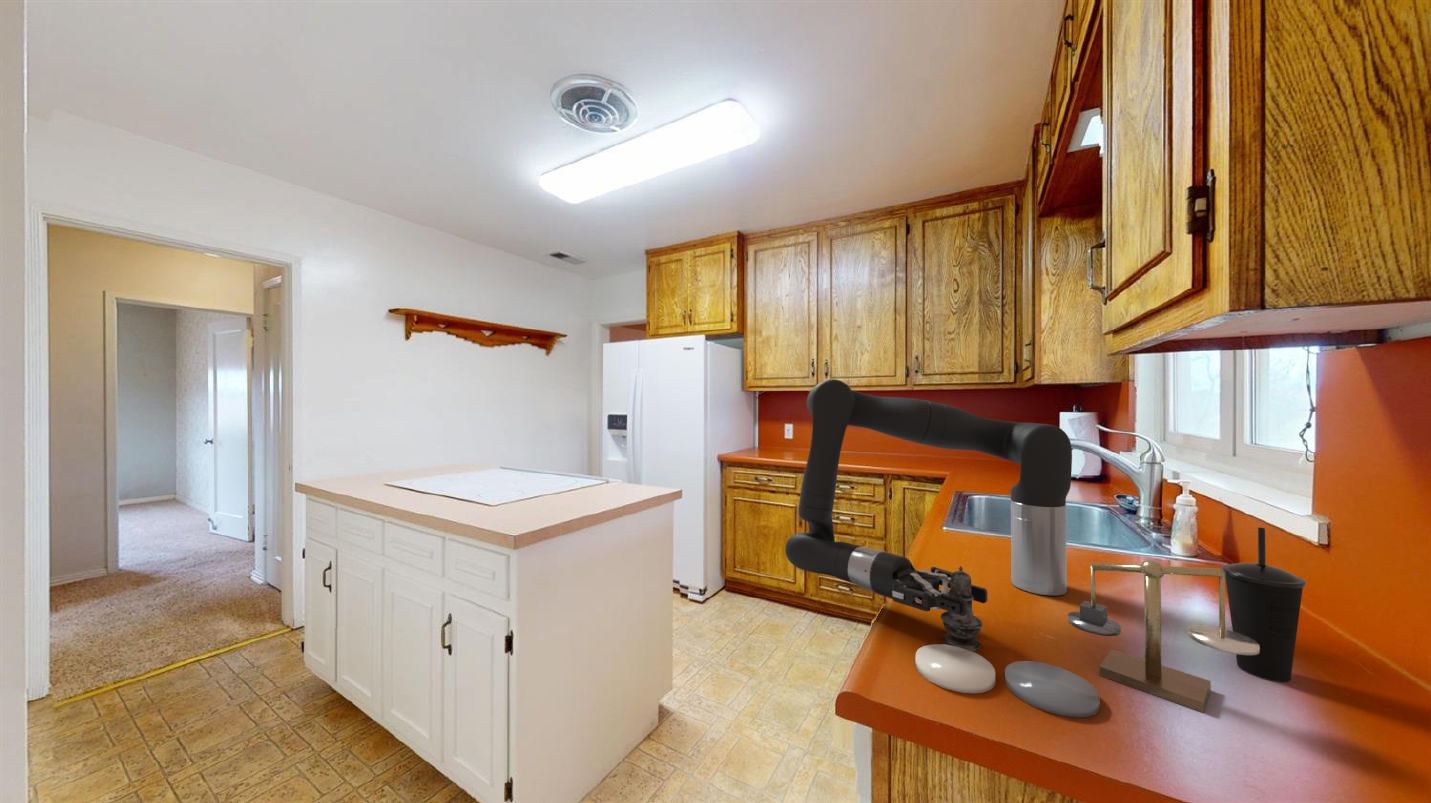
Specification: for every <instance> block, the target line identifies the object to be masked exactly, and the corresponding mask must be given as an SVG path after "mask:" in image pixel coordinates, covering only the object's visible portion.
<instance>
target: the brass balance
mask: <svg viewBox="0 0 1431 803" xmlns="http://www.w3.org/2000/svg"><path fill="white" fill-rule="evenodd" d="M1096 571H1098V572H1099V571H1100V572H1101V571H1102V572H1104V571H1105V572H1121V573H1136V574H1137V573H1140V574H1143V576H1144V578H1143V580H1144V581H1143V585H1144V590H1143V591H1144V596H1143V597H1144V658H1140V657H1137V656H1134V655H1132V654H1128V653H1124V652H1121V651H1118V650H1116V649H1111V650H1110V651H1109V653H1108V654H1107V655H1106V656H1105V658H1104V659H1103V661H1102V662H1101V663H1100V665H1099V666H1098V672H1099V673H1098V675H1099V676H1101V677H1104V678H1106V679H1109V680H1112V681H1115V682H1117V683H1120V684H1124V685H1126V686H1128V687H1132V688H1134V689H1136V690H1140V691H1142V692H1145V693H1148V694H1151V695H1153V696H1156V697H1158V698H1161V699H1164V700H1167V701H1170V702H1173V703H1175V704H1178V705H1181V706H1184V707H1187V708H1189V707H1190V709H1192V710H1195V711H1197V710H1198V712H1200V713H1204V712H1205V709H1206V705H1207V703H1208V699H1209V696H1210V694H1211V690H1212V689H1211V686H1212V685H1211V684H1212V683H1211V680H1210V679H1206V678H1203V677H1200V676H1197V675H1194V674H1190V673H1188V672H1184V671H1181V670H1178V669H1175V668H1172V667H1169V666H1165V665H1162V603H1161V602H1162V601H1161V600H1162V598H1161V597H1162V596H1161V594H1162V591H1161V590H1162V588H1161V579H1162V578H1163V577H1164V575H1176V576H1177V575H1179V576H1191V577H1192V576H1194V577H1195V576H1197V577H1212V578H1213V577H1214V578H1217V577H1218V621H1219V622H1218V626H1219V627H1217V626H1213V625H1207V624H1203V625H1202V624H1192V625H1189V626H1188V627H1187V636H1188V637H1189V638H1190V639H1192V640H1194V641H1195V642H1196V643H1198V644H1200V645H1203V646H1205V647H1208V648H1211V649H1214V650H1217V651H1220V652H1224V653H1228V654H1233V655H1236V654H1238V655H1257V654H1259V653H1260V645H1259V644H1258V643H1257V642H1256V641H1255V640H1253V639H1251V638H1249V637H1247V636H1245V635H1242V634H1239V633H1237V632H1234V631H1233V630H1230V629H1226V580H1225V573H1224V572H1223V571H1222V568H1220V567H1219V568H1216V567H1215V568H1214V567H1197V566H1195V567H1192V566H1191V567H1190V566H1175V565H1173V566H1172V565H1171V566H1170V565H1169V566H1167V565H1162V564H1161V563H1160V562H1158V561H1156V560H1152V559H1146V560H1144V561H1142V562H1141V563H1140V564H1125V563H1123V564H1122V563H1102V562H1101V563H1100V562H1092V563H1091V566H1090V601H1088V600H1083V601H1082V602H1081V603H1080V605H1079V611H1071V612H1069V613H1068V614H1067V622H1068V623H1069V624H1070V625H1071V626H1072V627H1074V628H1076V629H1078V630H1080V631H1083V632H1085V633H1088V634H1093V635H1096V636H1097V635H1098V636H1103V637H1115V636H1116V637H1117V636H1120V635H1121V634H1122V626H1121V625H1120V624H1119V623H1118V622H1117V621H1116V620H1114V619H1111V618H1109V617H1108V605H1103V604H1099V603H1098V602H1097V603H1096V599H1097V598H1096V597H1097V596H1096V590H1097V589H1096Z"/></svg>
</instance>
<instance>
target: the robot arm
mask: <svg viewBox="0 0 1431 803" xmlns="http://www.w3.org/2000/svg"><path fill="white" fill-rule="evenodd" d="M806 406H807V407H806V408H807V411H808V412H809V414H810V416H811V418H812V419H811V420H812V423H811V424H812V426H811V427H812V430H811V432H812V433H811V441H810V447H809V453H808V456H807V462H806V465H805V469H804V473H803V477H802V483H801V487H800V497H799V503H798V511H797V512H798V516H799V517H800V519H802V521H806V522H807V525H808V531H807V532H799V533H794V534H793V535H791V536H790V537H789V538H788V539H787V541H786V543H785V546H784V547H785V549H784V550H785V555H786V558H787V559H788V561H789V563H790V564H791V565H792V566H794V567H795V568H797V569H798V570H801V571H805V572H809V573H815V574H819V575H825V576H830V577H831V576H832V577H835V578H837V579H840V580H842V581H844V582H847V583H850V584H853V585H856V586H857V587H859V588H861V589H863V590H866V591H869V592H872V593H874V594H876V595H877V594H878V595H880V596H883V597H885V598H887V599H891V600H892V601H893V602H894V603H898V604H901V605H904V606H908V607H911V608H914V609H917V610H921V611H923V612H930V611H931V608H932V609H934V610H944V611H945V612H947V611H949V612H952V613H955V614H958V615H961V616H965V615H966V614H967V613H968V610H967V602H966V601H965V600H962V599H959V598H956V597H953V596H950V595H948V593H949V592H950V591H951V574H952V573H953V571H948V570H945V569H942V568H939V567H936V566H931V567H930V571H928V570H926V569H917V570H916V569H915V567H914V566H913V564H912V562H911V560H910V559H909V558H908V557H906V556H903V555H898V554H895V553H892V552H888V551H884V550H881V549H877V548H873V547H866V546H865V547H864V546H860V545H858V544H853V543H850V542H845V541H836V540H835V530H834V521H833V511H834V504H835V497H836V496H835V495H836V490H837V489H836V488H837V480H838V471H839V465H840V464H839V463H840V456H841V452H842V446H843V443H844V438H845V434H846V432H847V431H846V430H847V428H848V426H851V427H857V428H858V427H859V428H863V429H868V430H872V431H875V432H878V433H881V434H884V435H887V436H890V437H893V438H896V439H900V440H905V441H907V442H911V443H915V444H919V445H924V446H928V447H933V448H937V449H938V448H940V449H948V450H957V451H974V452H980V453H984V454H987V455H990V456H992V457H997V458H1000V459H1003V460H1006V461H1010V462H1011V463H1014V464H1016V465H1020V472H1019V479H1018V483H1016V484H1013V485H1012V486H1011V488H1010V532H1011V533H1010V537H1011V538H1010V542H1011V544H1010V547H1011V548H1010V549H1011V551H1010V552H1011V557H1010V558H1011V564H1010V566H1011V568H1010V570H1011V572H1010V575H1011V584H1012V585H1013V586H1015V587H1016V588H1018V589H1020V590H1023V591H1026V592H1028V593H1032V594H1037V595H1043V596H1053V597H1054V596H1055V597H1056V596H1062V595H1066V594H1067V590H1068V588H1067V587H1068V586H1067V585H1068V584H1067V571H1068V570H1067V508H1066V506H1067V500H1066V499H1067V496H1068V494H1069V492H1070V490H1071V485H1072V467H1073V464H1072V463H1073V447H1072V442H1071V440H1070V438H1069V436H1068V434H1067V433H1066V432H1065V431H1064V430H1063V429H1062V428H1061V427H1058V426H1057V425H1054V424H1047V423H1039V422H1038V423H1037V422H1036V423H1034V422H1017V421H1006V420H1000V419H991V418H986V417H982V416H980V415H976V414H974V413H971V412H969V411H966V410H964V409H963V408H962V409H961V408H958V407H955V406H953V405H952V406H951V405H948V404H944V403H940V402H937V401H936V402H935V401H930V400H926V399H925V400H924V399H921V398H920V399H919V398H911V397H898V396H897V397H895V396H878V395H872V394H867V393H862V392H859V391H856V390H852V389H851V388H850V385H848V384H846V382H844V381H842V380H840V379H832V378H831V379H826V380H824V381H821V382H819V383H818V384H816V385H815V386H814V387H813V388H812V389H811V390H810V392H809V393H808V395H807V398H806ZM940 586H942V588H941V589H940ZM971 594H972V595H973V596H974V599H973V600H972V601H975V602H978V603H981V604H986V603H987V602H988V598H989V597H988V595H989V594H988V590H987V588H984V587H982V586H978V585H974V584H971Z"/></svg>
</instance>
